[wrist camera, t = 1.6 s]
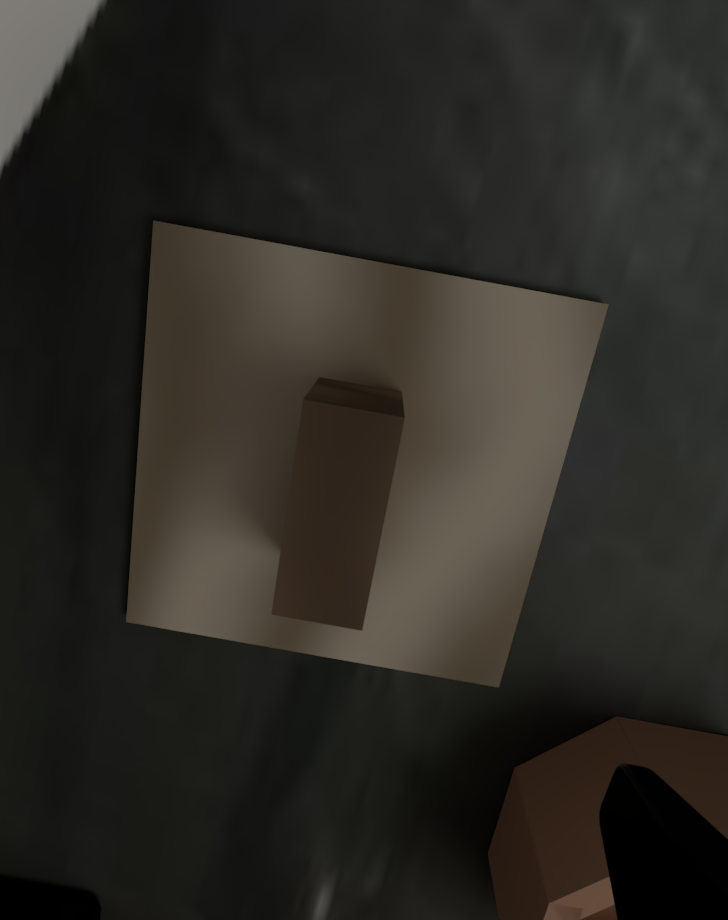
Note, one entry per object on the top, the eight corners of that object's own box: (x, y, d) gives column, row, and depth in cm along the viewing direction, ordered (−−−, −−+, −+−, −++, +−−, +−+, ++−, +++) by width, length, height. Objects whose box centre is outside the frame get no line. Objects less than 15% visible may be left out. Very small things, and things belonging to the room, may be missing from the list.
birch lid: (138, 606, 21) (74, 688, 17) (166, 223, 18) (94, 205, 13) (493, 669, 22) (520, 766, 17) (596, 302, 18) (663, 309, 14)
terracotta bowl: (470, 907, 24) (490, 1064, 19) (534, 700, 21) (576, 823, 16) (715, 951, 24) (796, 1117, 19) (812, 751, 21) (936, 888, 16)
